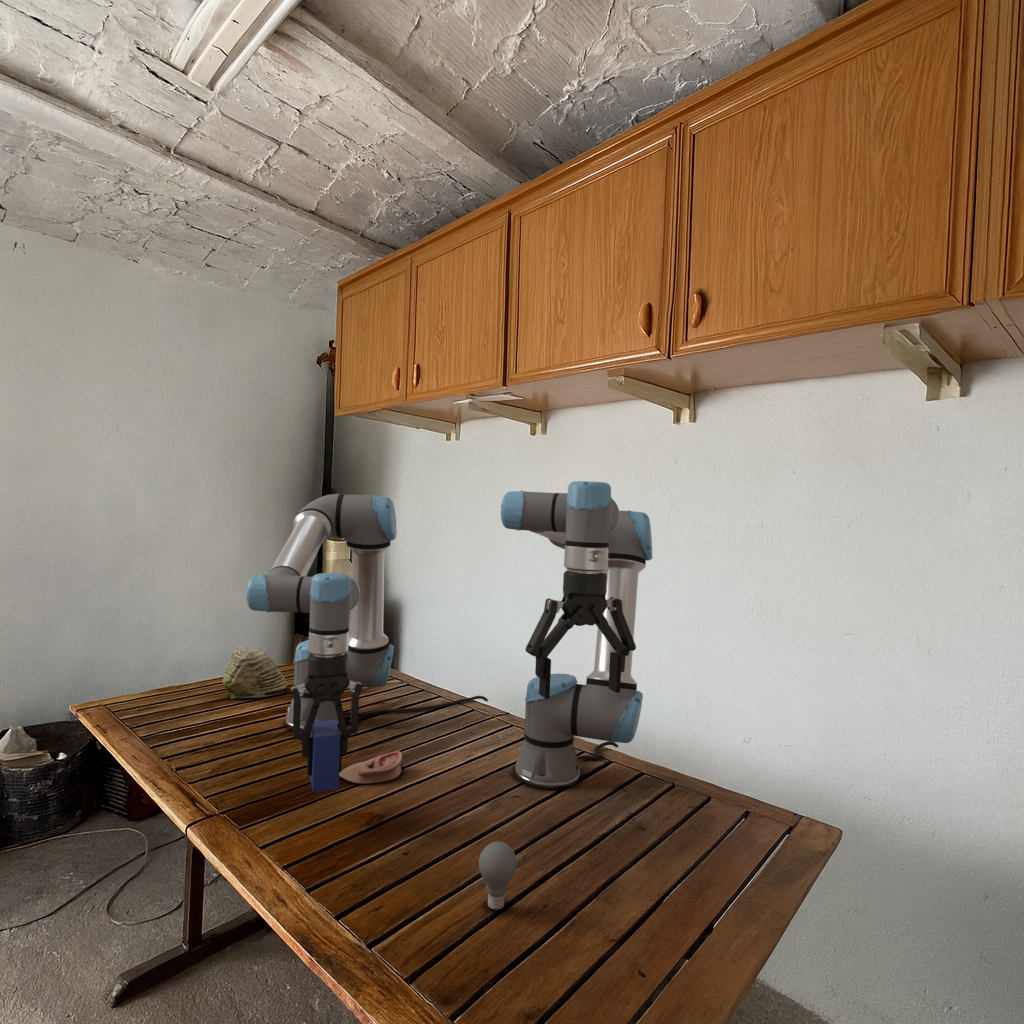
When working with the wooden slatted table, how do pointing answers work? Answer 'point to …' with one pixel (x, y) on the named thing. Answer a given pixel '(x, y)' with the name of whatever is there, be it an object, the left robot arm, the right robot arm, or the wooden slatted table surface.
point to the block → (325, 756)
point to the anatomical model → (374, 769)
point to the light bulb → (497, 871)
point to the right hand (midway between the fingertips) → (579, 693)
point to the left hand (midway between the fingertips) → (323, 770)
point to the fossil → (252, 674)
